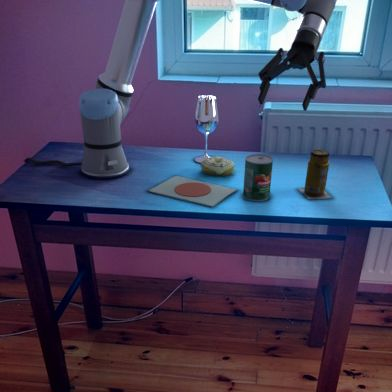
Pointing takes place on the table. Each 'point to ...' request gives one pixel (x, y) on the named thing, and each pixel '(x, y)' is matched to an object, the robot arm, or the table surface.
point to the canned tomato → (257, 177)
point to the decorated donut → (217, 166)
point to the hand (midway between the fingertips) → (281, 104)
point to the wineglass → (206, 119)
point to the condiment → (316, 175)
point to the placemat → (193, 191)
